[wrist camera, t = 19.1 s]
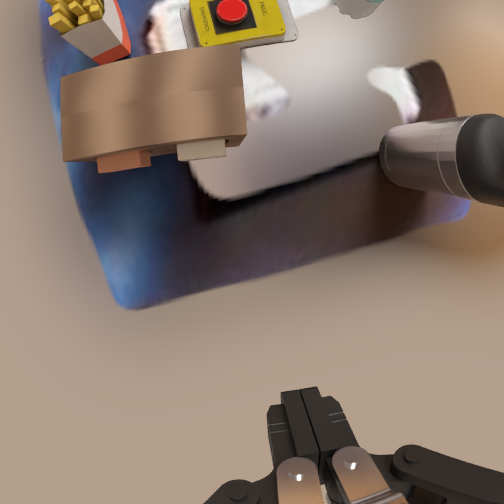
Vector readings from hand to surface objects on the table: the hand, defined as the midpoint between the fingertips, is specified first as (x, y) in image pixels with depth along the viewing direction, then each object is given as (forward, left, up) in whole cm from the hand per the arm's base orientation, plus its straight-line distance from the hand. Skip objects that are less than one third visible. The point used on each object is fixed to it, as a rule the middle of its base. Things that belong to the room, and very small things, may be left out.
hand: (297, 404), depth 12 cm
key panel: (+8, -16, -32) cm, 37 cm away
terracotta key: (+12, -13, -24) cm, 30 cm away
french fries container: (+16, -31, -32) cm, 47 cm away
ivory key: (+4, -13, -24) cm, 28 cm away
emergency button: (-1, -30, -33) cm, 45 cm away
